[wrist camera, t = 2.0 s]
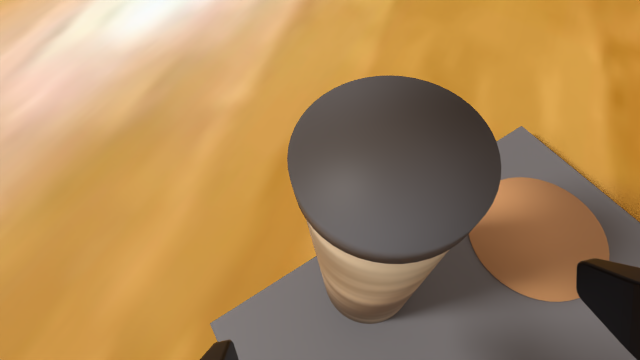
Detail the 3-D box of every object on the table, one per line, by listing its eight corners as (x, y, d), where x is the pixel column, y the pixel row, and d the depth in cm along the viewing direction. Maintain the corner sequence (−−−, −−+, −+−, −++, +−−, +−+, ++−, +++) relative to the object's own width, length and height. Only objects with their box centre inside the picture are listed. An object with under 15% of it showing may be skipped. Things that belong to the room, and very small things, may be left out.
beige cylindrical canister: (429, 292, 17) (551, 174, 7) (355, 345, 16) (366, 301, 6) (375, 222, 19) (406, 50, 9) (306, 266, 19) (252, 131, 8)
